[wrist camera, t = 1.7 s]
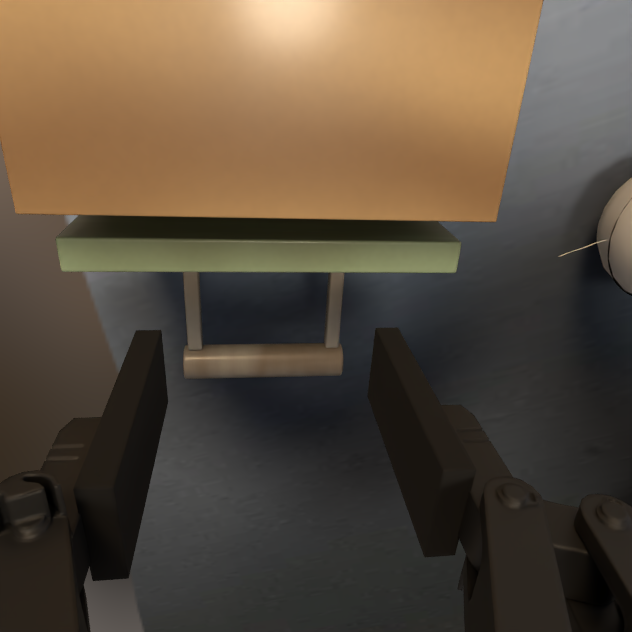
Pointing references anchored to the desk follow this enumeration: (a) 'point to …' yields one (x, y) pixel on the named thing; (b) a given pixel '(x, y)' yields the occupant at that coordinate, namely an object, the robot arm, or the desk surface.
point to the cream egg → (617, 237)
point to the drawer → (257, 256)
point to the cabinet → (263, 106)
